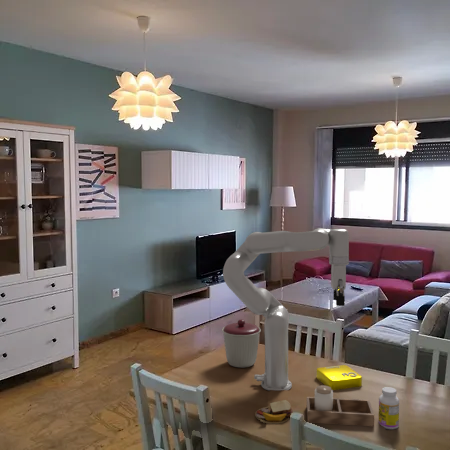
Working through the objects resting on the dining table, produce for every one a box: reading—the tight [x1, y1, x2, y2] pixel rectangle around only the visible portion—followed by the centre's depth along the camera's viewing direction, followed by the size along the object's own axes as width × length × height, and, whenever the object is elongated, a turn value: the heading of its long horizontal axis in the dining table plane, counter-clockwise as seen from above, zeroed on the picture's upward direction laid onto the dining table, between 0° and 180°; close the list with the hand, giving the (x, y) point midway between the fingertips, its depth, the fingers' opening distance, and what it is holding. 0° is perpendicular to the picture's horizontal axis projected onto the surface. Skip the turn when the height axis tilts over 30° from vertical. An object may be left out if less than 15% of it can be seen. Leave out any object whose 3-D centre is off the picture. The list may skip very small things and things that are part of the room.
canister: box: [221, 319, 262, 369], centre depth 225 cm, size 18×18×21 cm
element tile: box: [316, 364, 363, 391], centre depth 205 cm, size 15×15×5 cm
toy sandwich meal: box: [254, 399, 294, 424], centre depth 174 cm, size 12×14×5 cm
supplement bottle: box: [378, 386, 400, 430], centre depth 167 cm, size 7×7×13 cm
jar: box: [314, 384, 334, 412], centre depth 173 cm, size 6×6×10 cm
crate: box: [306, 396, 375, 427], centre depth 172 cm, size 22×12×5 cm, turn 82°
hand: (338, 302), depth 193 cm, fingers open, 9 cm apart
